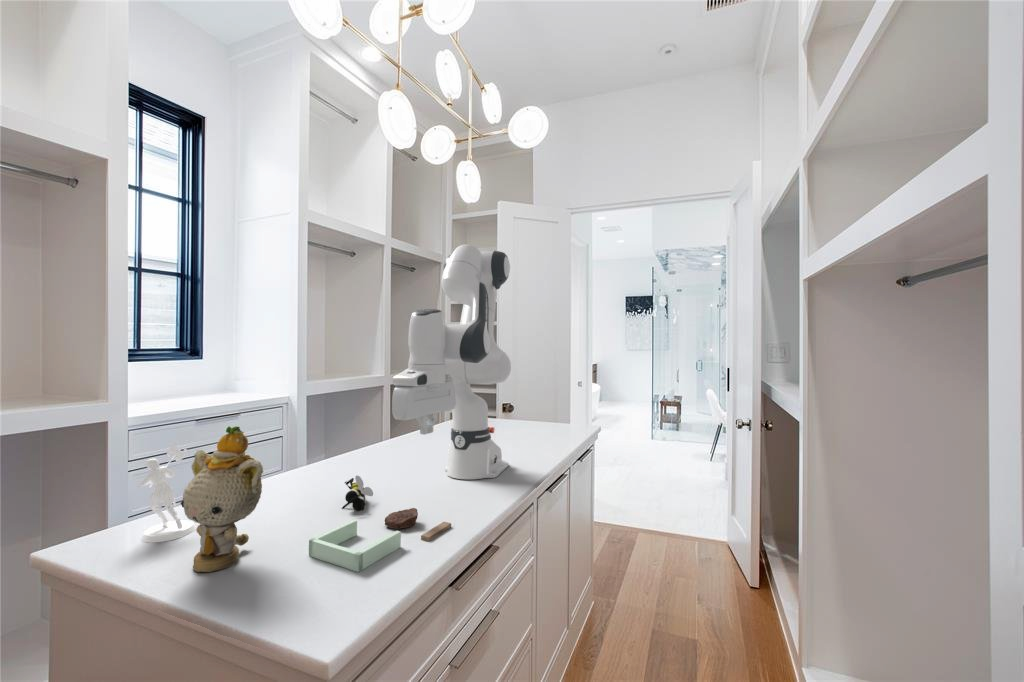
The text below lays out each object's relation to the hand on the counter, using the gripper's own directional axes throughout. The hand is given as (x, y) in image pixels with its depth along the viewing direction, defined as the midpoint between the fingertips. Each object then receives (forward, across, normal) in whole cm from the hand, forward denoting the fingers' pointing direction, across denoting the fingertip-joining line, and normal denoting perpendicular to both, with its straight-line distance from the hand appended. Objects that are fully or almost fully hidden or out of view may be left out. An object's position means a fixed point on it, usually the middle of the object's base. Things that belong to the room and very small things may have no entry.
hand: (426, 433), depth 105 cm
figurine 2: (+19, +36, -18) cm, 45 cm away
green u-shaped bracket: (+19, +22, 0) cm, 29 cm away
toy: (+20, +3, -19) cm, 28 cm away
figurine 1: (+19, +34, -42) cm, 57 cm away
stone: (+20, +8, 0) cm, 21 cm away
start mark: (+19, +8, +9) cm, 23 cm away
